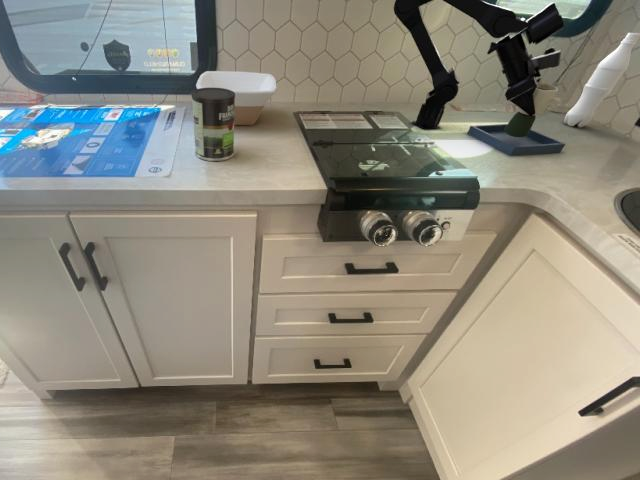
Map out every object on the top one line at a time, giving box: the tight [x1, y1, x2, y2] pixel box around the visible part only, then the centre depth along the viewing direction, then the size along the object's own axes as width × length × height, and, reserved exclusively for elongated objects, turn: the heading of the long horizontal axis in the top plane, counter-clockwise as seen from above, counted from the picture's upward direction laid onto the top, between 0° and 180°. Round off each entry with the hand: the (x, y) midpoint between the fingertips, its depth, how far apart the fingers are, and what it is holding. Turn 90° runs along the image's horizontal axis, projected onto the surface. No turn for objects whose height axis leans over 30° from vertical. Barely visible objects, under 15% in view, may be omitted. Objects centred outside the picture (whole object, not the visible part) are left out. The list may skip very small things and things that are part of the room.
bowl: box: [195, 70, 278, 126], centre depth 107 cm, size 24×25×11 cm
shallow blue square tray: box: [466, 123, 566, 157], centre depth 103 cm, size 18×18×2 cm
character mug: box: [504, 81, 562, 137], centre depth 98 cm, size 11×7×13 cm, turn 49°
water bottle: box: [563, 32, 640, 128], centre depth 109 cm, size 7×7×25 cm
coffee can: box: [190, 88, 235, 162], centre depth 85 cm, size 10×10×14 cm
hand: (534, 111), depth 97 cm, fingers closed on character mug, 7 cm apart
